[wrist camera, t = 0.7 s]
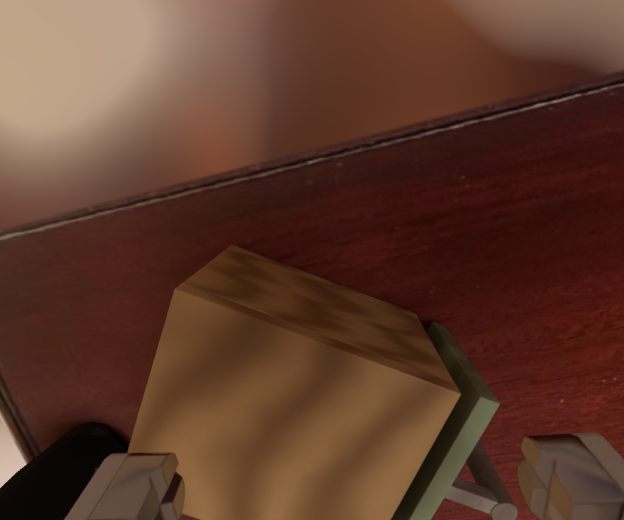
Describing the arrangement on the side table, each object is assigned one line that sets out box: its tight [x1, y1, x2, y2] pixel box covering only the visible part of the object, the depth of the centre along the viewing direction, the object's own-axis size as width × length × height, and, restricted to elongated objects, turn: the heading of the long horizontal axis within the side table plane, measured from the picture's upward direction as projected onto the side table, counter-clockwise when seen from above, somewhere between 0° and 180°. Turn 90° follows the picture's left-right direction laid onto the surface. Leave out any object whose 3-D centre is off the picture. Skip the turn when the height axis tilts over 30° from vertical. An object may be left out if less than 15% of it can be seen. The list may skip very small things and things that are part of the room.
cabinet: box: [127, 244, 461, 520], centre depth 26 cm, size 16×14×11 cm
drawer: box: [391, 322, 518, 520], centre depth 26 cm, size 21×14×10 cm
